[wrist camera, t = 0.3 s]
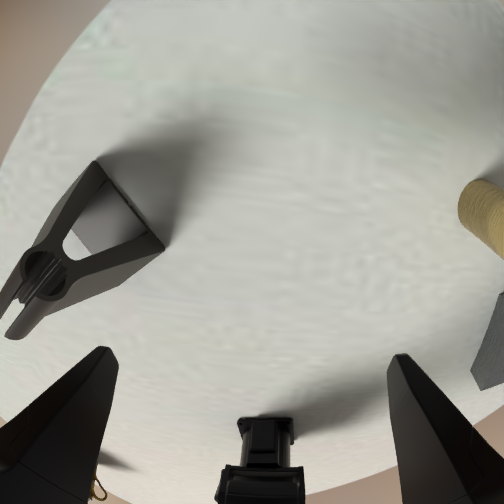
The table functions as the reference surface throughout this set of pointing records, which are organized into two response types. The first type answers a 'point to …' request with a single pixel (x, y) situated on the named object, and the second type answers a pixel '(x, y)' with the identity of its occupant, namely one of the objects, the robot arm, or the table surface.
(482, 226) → the brass sleeve
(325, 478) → the table surface
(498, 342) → the jig block
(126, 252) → the phone stand
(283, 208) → the table surface
